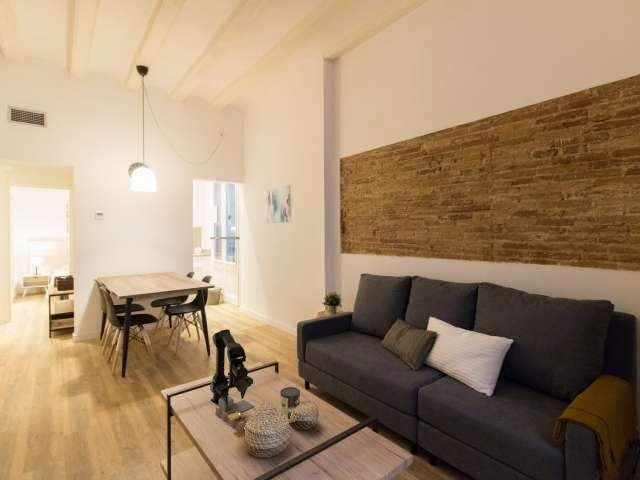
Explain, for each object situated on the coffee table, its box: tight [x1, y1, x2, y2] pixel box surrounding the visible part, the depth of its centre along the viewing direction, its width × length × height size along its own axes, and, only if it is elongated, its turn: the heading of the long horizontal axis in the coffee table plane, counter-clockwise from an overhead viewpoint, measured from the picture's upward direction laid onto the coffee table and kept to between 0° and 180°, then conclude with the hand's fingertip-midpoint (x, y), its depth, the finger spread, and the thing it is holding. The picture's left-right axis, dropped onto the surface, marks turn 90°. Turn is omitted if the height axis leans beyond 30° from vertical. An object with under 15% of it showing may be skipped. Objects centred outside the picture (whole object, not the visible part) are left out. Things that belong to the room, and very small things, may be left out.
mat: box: [234, 399, 255, 414], centre depth 189 cm, size 10×10×1 cm
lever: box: [228, 412, 244, 420], centre depth 169 cm, size 5×1×6 cm
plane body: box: [214, 405, 250, 433], centre depth 175 cm, size 23×6×5 cm, turn 48°
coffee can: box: [279, 386, 301, 419], centre depth 179 cm, size 10×10×14 cm
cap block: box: [218, 395, 235, 412], centre depth 179 cm, size 6×5×5 cm
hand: (234, 401), depth 171 cm, fingers open, 9 cm apart
